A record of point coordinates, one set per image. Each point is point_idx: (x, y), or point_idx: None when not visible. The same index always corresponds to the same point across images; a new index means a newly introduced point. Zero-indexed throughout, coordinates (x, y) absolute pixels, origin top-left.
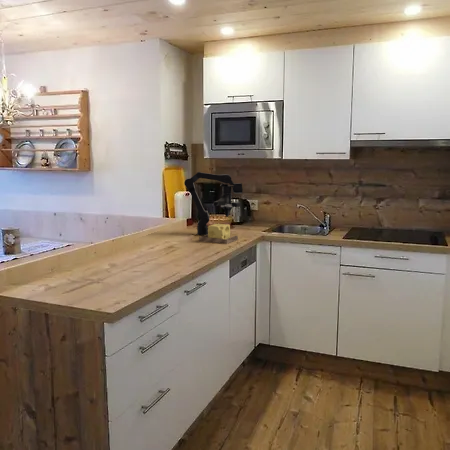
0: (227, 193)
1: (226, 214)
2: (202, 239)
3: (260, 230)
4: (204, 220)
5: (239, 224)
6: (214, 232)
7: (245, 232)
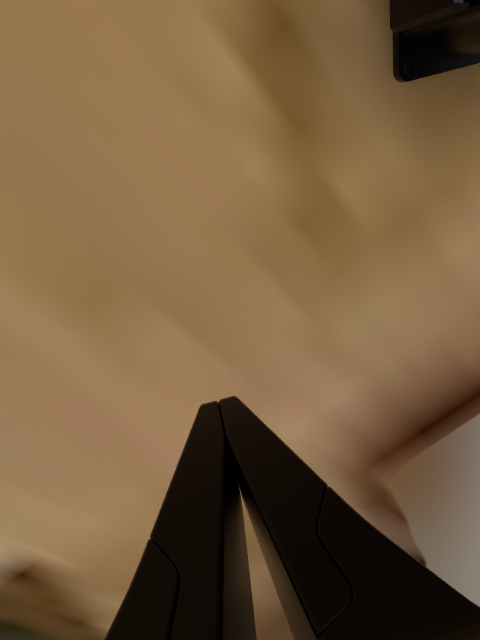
0: None
1: (228, 441)
2: None
3: (89, 573)
4: None
5: None
6: None
7: (108, 449)
